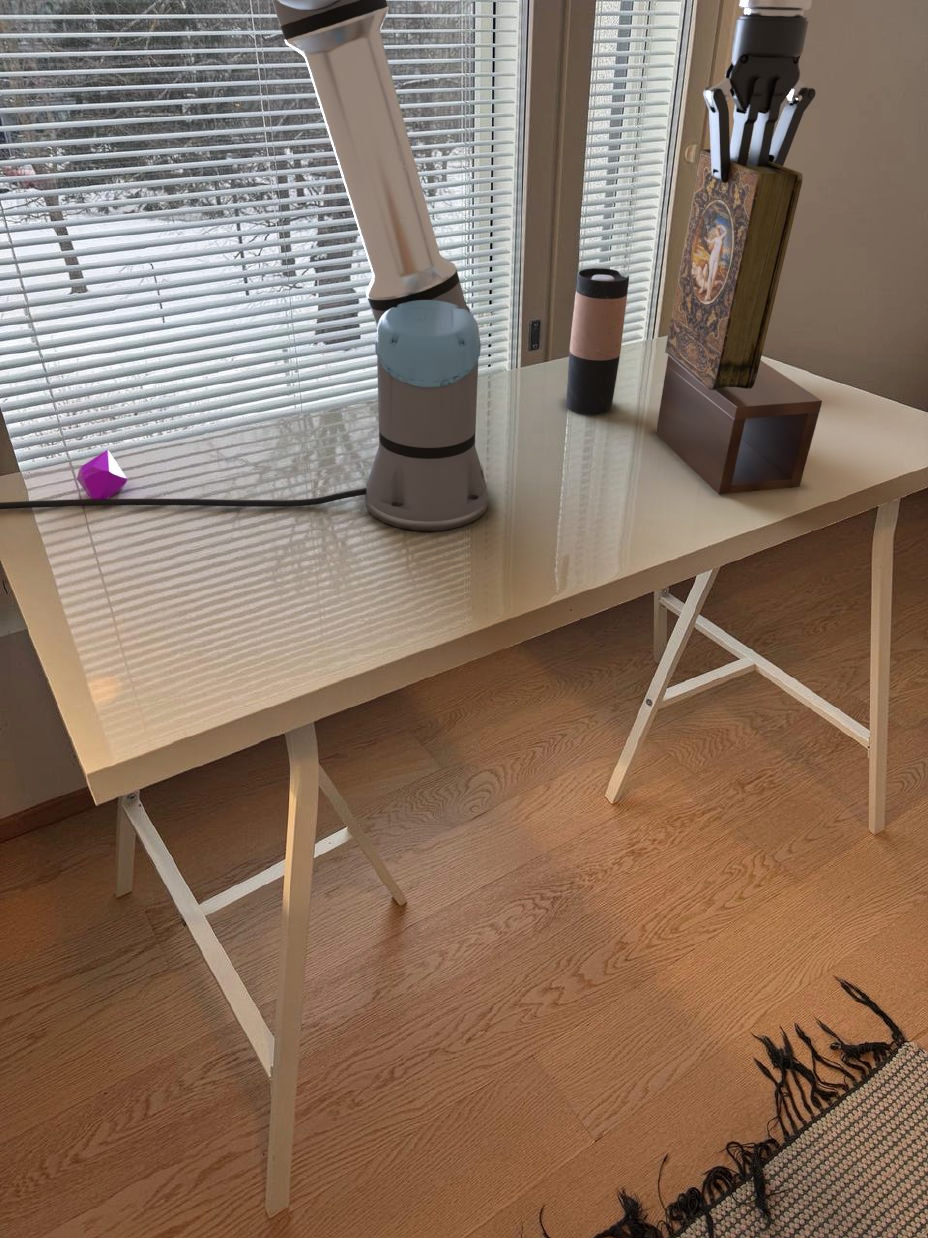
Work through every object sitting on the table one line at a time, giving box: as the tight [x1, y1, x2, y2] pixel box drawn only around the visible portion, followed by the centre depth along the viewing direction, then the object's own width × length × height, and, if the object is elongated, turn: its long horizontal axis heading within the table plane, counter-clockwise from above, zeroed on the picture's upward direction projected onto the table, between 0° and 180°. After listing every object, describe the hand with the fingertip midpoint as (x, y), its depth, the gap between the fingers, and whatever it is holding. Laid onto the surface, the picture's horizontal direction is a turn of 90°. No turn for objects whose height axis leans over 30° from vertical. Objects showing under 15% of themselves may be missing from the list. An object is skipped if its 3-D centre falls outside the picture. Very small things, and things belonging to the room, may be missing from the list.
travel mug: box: [565, 267, 630, 416], centre depth 139 cm, size 8×8×20 cm
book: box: [664, 148, 804, 390], centre depth 114 cm, size 16×6×25 cm, turn 13°
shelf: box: [655, 355, 823, 495], centre depth 126 cm, size 12×20×12 cm, turn 14°
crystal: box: [76, 449, 128, 507], centre depth 114 cm, size 5×5×5 cm
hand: (733, 244), depth 112 cm, fingers closed
